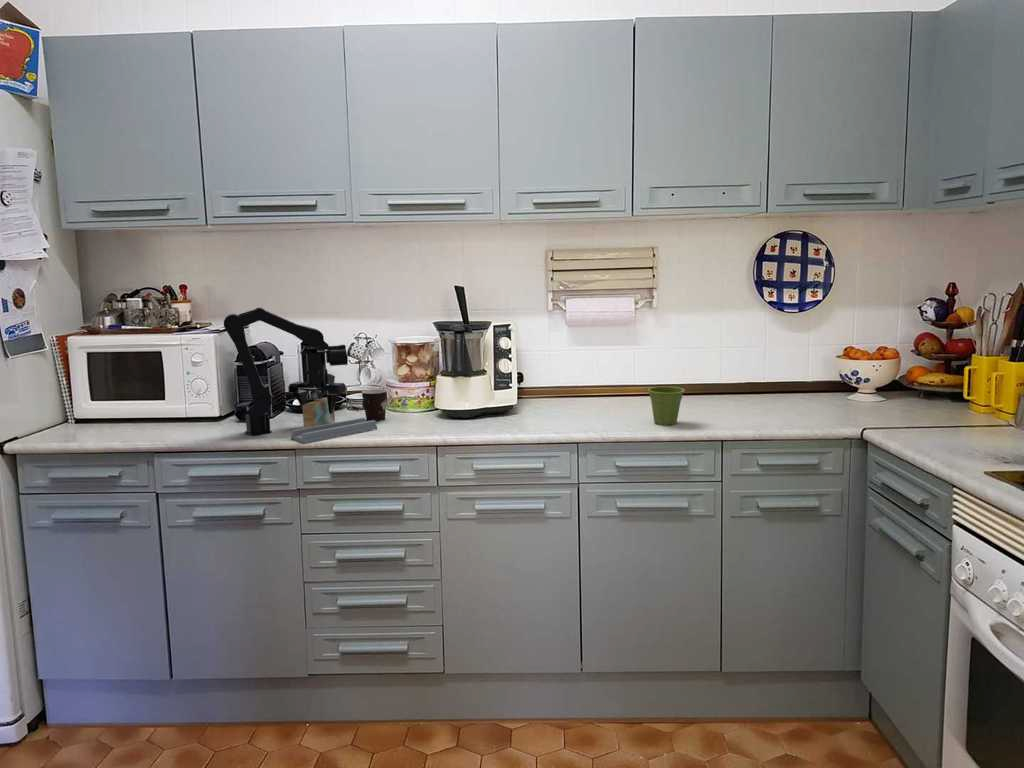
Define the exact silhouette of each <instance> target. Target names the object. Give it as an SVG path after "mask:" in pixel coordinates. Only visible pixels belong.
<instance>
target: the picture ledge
mask: <svg viewBox="0 0 1024 768" xmlns="http://www.w3.org/2000/svg"><path fill="white" fill-rule="evenodd" d="M373 429H376V430H378V425H377V422H376V421H375V420H372V421H367V420H366V417H357V418H352V419H346V420H341V421H335V423H330V424H325V425H319V426H314V427H308V428H304V427H302V428H298V429H293V430H291V431H290V432H291V433H290V434H291V435H290V439H291V438H292V439H294V440H293V441H296V442H298V443H299V442H300V443H302V444H310V443H315V442H320V441H324V440H325V441H326V440H330V439H329V438H331V439H333V438H332V437H336V438H338V437H337V436H341V437H344V436H343V435H346V436H349V435H348V434H351V435H353V434H352V433H356V434H358V433H357V432H361V433H363V432H362V431H366V432H369V431H368V430H371V431H374V430H373ZM292 439H291V440H292Z"/></svg>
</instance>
